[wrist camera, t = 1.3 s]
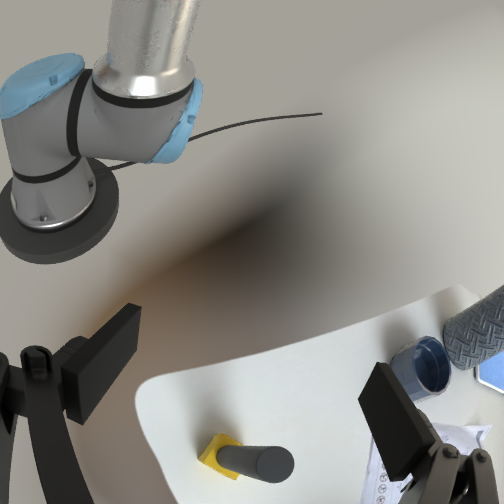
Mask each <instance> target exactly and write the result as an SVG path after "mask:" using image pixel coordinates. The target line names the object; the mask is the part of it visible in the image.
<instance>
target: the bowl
mask: <svg viewBox="0 0 504 504" xmlns="http://www.w3.org/2000/svg"><path fill="white" fill-rule="evenodd" d="M390 368H391V369H392V371H393V372H394V374H395V375H396V377H397V378H398V380H399V381H400V383H401V385H402V386H403V388H404V389H405V391H406V392H407V394H408V395H409V397H410V399H411V400H412V402H421V401H424V400H426V399H430V398H432V397H435V396H438V395H440V394H441V393H443V392H445V391H446V389H447V387H448V385H449V383H450V378H451V365H450V360H449V357H448V354H447V352H446V350H445V349H444V347H443V346H442V344H441V343H440V342H439V341H438V340H436V339H435V338H434V337H430V336H424V337H421V338H419V339H417V340H415V341H414V342H412V343H410V344H408V345H406V346H404V347H403V348H401V349H400V350H399V351H398V352H397V353H396V354H395V356H394V357H393V359H392V362H391V366H390Z"/></svg>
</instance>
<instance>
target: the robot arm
mask: <svg viewBox="0 0 504 504" xmlns="http://www.w3.org/2000/svg"><path fill="white" fill-rule="evenodd" d="M201 1H202V0H112V6H111V14H110V22H109V32H108V44H107V53H105V54H104V55H103V56H102V57H101V58H99V60H98V61H97V62H96V63H95V65H94V67H93V69H85V68H84V67H85V62H84V59H83V57H82V56H81V55H76V54H74V53H66V54H59V55H54V56H50V57H46V58H43V59H40V60H37V61H35V62H33V63H31V64H28V65H27V66H25V67H23V68H21V69H19V70H18V71H16V72H15V73H14V74H12V75H11V76H10V77H9V78H8V79H7V80H6V81H5V83H4V84H3V86H2V88H1V90H0V119H1V121H2V127H3V132H4V137H5V141H6V145H7V150H8V155H9V159H10V163H11V167H12V170H13V181H12V192H11V204H12V208H13V211H14V214H15V217H16V219H17V221H18V222H19V223H20V224H21V225H22V226H23V227H24V228H26V229H27V230H29V231H32V232H36V233H54V232H58V231H61V230H64V229H67V228H69V227H71V226H73V225H74V224H76V223H77V222H79V221H80V220H81V219H82V218H84V217H85V216H86V214H87V213H88V212H89V211H90V209H91V208H92V206H93V204H94V202H95V199H96V180H95V176H94V174H98V173H102V172H106V171H111V170H116V169H120V168H123V167H126V166H129V165H132V164H135V163H138V162H139V163H144V164H149V163H164V164H166V163H172V162H174V161H175V160H177V159H178V158H179V157H180V155H181V154H182V152H183V150H184V149H185V146H186V144H187V142H189V141H192V140H194V139H197V138H200V137H202V136H205V135H208V134H211V133H214V132H217V131H221V130H224V129H228V128H231V127H235V126H240V125H244V124H249V123H254V122H260V121H267V120H274V119H283V118H294V117H305V116H315V115H322V113H315V114H303V115H290V116H279V117H270V118H263V119H256V120H251V121H245V122H240V123H236V124H232V125H228V126H224V127H221V128H217V129H214V130H211V131H208V132H205V133H202V134H199V135H196V136H193V137H191V138H189V137H190V134H191V132H192V129H193V126H194V120H195V118H196V115H197V113H198V110H199V106H200V102H201V98H202V92H203V84H202V82H201V81H200V80H199V79H196V78H195V77H194V75H195V67H194V64H193V63H192V61H191V60H190V59H189V58H188V57H187V56H186V52H187V48H188V45H189V41H190V37H191V34H192V30H193V27H194V24H195V20H196V16H197V14H198V10H199V7H200V4H201ZM86 157H89V158H101V159H111V160H121V161H130V162H127V163H124V164H120V165H116V166H112V167H106V168H102V169H98V170H94V171H92V170H91V168H90V166H89V164H88V162H87V160H86ZM141 308H142V307H140V306H137V305H134V304H131V303H128V304H127V305H125V306H124V307H123V308H122V309H121V310H120V311H119V312H118V313H117V314H116V315H115V316H113V317H112V318H111V319H110V320H109V321H108V322H107V323H106V324H105V325H104V326H103V327H101V328H100V329H99V330H98V331H97V332H96V333H95V334H94V335H93V336H92V337H91V338H90V339H87V338H85V337H82V336H78V337H75V338H73V339H71V340H69V341H68V342H67V343H66V344H65V346H63V347H61V348H60V350H58V351H57V352H56V353H55V354H53V355H52V354H51V352H50V351H49V350H48V349H47V348H44V347H42V346H36V345H35V346H29V347H26V348H24V349H23V350H22V351H21V354H20V358H21V364H22V368H19V367H15V366H12V365H9V361H8V359H7V357H6V355H5V354H3V353H1V352H0V504H8V503H9V481H10V468H11V458H12V451H13V443H14V436H15V430H16V424H17V418H18V415H20V416H24V417H27V418H28V425H29V431H30V437H31V442H32V448H33V452H34V457H35V461H36V466H37V470H38V474H39V478H40V482H41V485H42V489H43V492H44V496H45V499H46V502H47V504H94V502H93V500H92V497H91V495H90V492H89V490H88V488H87V485H86V483H85V480H84V478H83V475H82V472H81V470H80V467H79V464H78V461H77V458H76V455H75V452H74V449H73V446H72V443H71V440H70V437H69V433H68V430H67V426H66V422H65V418H64V415H63V411H64V410H65V409H66V414H67V418H68V419H71V420H73V421H75V422H77V423H79V424H81V425H83V424H84V423H85V422H86V420H87V419H88V417H89V416H90V414H91V413H92V412H93V410H94V408H95V407H96V406H97V404H98V403H99V402H100V400H101V399H102V397H103V396H104V395H105V393H106V392H107V390H108V389H109V388H110V386H111V385H112V383H113V382H114V381H115V379H116V378H117V376H118V375H119V374H120V372H121V371H122V370H123V368H124V367H125V365H126V364H127V362H128V361H129V360H130V359H131V357H132V356H133V354H134V353H135V352H136V350H137V342H138V333H139V324H140V315H141ZM358 401H359V404H360V406H361V408H362V411H363V413H364V416H365V418H366V421H367V423H368V426H369V428H370V431H371V433H372V436H373V438H374V441H375V443H376V446H377V448H378V451H379V453H380V456H381V459H382V461H383V464H384V467H385V469H386V472H387V474H388V477H389V480H390V482H394V481H403V480H404V479H405V478H406V477H407V476H408V475H409V474H410V473H411V474H412V476H413V478H412V479H411V481H410V482H409V483H408V484H407V485H406V486H405V487H404V488H403V489H402V490H401V491H400V492H401V493H402V492H403V491H404V490H405V491H404V493H403V495H402V497H401V499H400V501H399V503H398V504H499V499H498V492H497V486H496V480H495V475H494V469H493V464H492V460H491V457H490V455H489V454H488V452H487V451H485V450H482V449H478V448H477V449H474V450H473V452H472V453H471V454H470V455H469V456H467V455H460V452H459V450H458V449H457V448H456V447H455V446H453V445H451V444H448V443H443V442H442V440H441V439H440V437H439V435H438V434H437V432H436V431H435V429H434V428H433V426H432V424H431V423H429V422H430V421H429V419H428V418H427V416H426V415H425V414H424V413H423V412H422V411H421V410H420V409H417V408H416V407H415V405H414V403H413V402H412V400H411V399H410V397H409V395H408V394H407V392H406V391H405V389H404V388H403V386H402V385H401V383H400V381H399V380H398V378H397V377H396V375H395V374H394V372H393V371H392V369H391V368H390V366H389V365H388V364H387V363H380V362H377V363H376V365H375V367H374V369H373V371H372V373H371V375H370V377H369V379H368V381H367V383H366V385H365V387H364V389H363V390H362V392H361V394H360V396H359V398H358ZM467 489H468V491H467V493H466V490H467Z"/></svg>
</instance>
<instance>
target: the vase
mask: <svg viewBox="0 0 504 504" xmlns="http://www.w3.org/2000/svg"><path fill="white" fill-rule="evenodd" d="M444 342H445V347H446V350H447V353H448V355H449V357H450V359H451V361H452V362H453V363H454V365H455V366H456V367H458V368H459V369H462V370H468V369H471V368H473V367H475V366H477V365H479V364H481V363H483V362H484V361H486V360H488V359H490V358H492V357H493V356H495V355H497V354H499V353H500V352H502V351H504V285H502V286H501V287H500V288H498V289H497V290H495V291H494V292H492V293H491V294H489V295H488V296H486V297H484V298H483V299H481V300H480V301H478V302H477V303H475V304H473V305H472V306H470V307H469V308H467V309H465V310H464V311H462V312H460V313H459V314H457V315H455V316H454V317H452V318H451V319H450V320H449V321H448V322H447V323H446V325H445V328H444Z"/></svg>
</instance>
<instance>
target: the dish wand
mask: <svg viewBox="0 0 504 504" xmlns="http://www.w3.org/2000/svg"><path fill="white" fill-rule="evenodd" d="M198 460H199V461H200V462H202V463H204V464H205V465H207V466H209V467H210V468H212V469H214V470H216V471H217V472H219V473H221V474H223V475H225V476H226V477H229V478H231V479H233V480H236V478H237V477H238V476H239V474H242V475H245V476H248V477H252V478H255V479H258V480H261V481H265V482H268V483H279V482H282V481H284V480H286V479H287V478H288V477H289V476H290V475H291V473H292V472H293V469H294V459H293V456H292V454H291V453H290V452H289V451H288V450H287V449H285V448H283V447H279V446H244V445H242V444H240V443H239V442H237V441H235V440H234V439H232V438H230V437H229V436H227V435H225V434H224V433H220V434H216V435H215V436H214V437H213V439H212V440H211V442H210V443H209V445H208V446H207V447H206V449H205V450H204V452H203V453H202V454H201V456H200V457H199V459H198Z"/></svg>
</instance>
